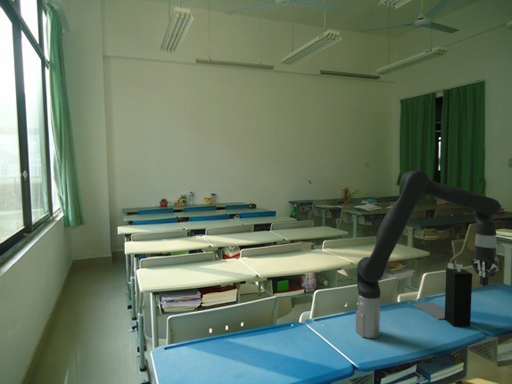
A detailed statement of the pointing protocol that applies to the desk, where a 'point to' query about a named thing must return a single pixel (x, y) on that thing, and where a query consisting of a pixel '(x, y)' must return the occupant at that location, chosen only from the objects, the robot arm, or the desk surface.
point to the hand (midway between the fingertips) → (483, 285)
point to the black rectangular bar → (458, 296)
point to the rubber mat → (432, 310)
